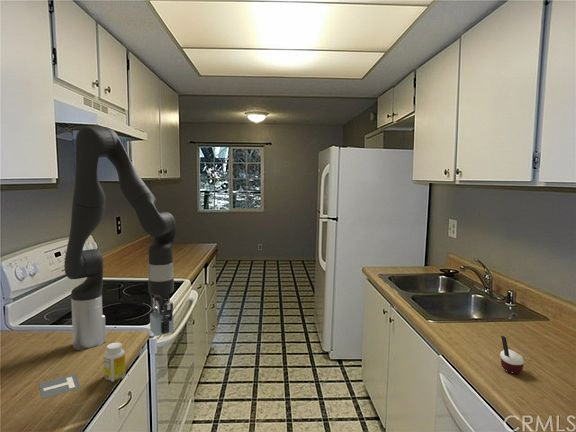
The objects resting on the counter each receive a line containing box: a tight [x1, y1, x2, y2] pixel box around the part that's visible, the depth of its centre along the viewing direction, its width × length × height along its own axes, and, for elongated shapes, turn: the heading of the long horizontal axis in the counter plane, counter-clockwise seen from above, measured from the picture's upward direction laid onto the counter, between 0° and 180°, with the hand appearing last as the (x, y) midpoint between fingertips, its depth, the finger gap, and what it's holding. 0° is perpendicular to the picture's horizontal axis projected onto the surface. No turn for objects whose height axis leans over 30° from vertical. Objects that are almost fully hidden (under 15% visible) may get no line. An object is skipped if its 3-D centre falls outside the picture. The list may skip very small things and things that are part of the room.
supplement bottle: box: [103, 342, 127, 382], centre depth 109 cm, size 6×6×10 cm
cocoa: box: [500, 335, 525, 374], centre depth 119 cm, size 10×6×12 cm, turn 89°
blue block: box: [149, 311, 175, 337], centre depth 118 cm, size 6×6×6 cm
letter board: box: [38, 373, 82, 400], centre depth 104 cm, size 9×9×1 cm
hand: (161, 329), depth 118 cm, fingers closed on blue block, 5 cm apart
